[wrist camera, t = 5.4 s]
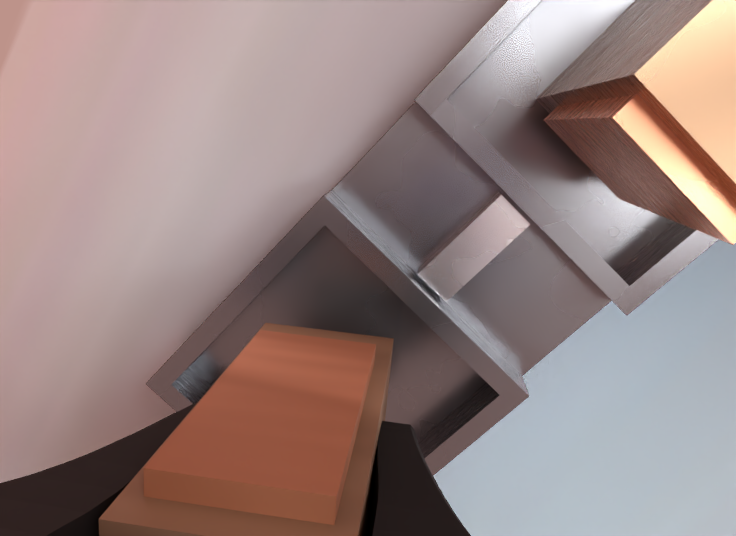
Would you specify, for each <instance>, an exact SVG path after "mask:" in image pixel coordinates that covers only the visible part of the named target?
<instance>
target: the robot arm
mask: <svg viewBox="0 0 736 536" xmlns="http://www.w3.org/2000/svg"><path fill="white" fill-rule="evenodd" d="M197 403H198V402H196V403H194V404H192V405H190V406H188V407H186V408H184V409H182V410H180V411H178V412H176V413H174V414H172V415H170V416H168V417H166V418H164V419H162V420H160V421H158V422H156V423H154V424H152V425H150V426H148V427H146V428H144V429H142V430H140V431H138V432H136V433H134V434H132V435H130V436H127V437H125V438H123V439H121V440H118V441H116V442H114V443H112V444H110V445H107V446H105V447H103V448H101V449H98V450H96V451H94V452H92V453H89V454H87V455H84V456H82V457H79V458H77V459H74V460H72V461H69V462H66V463H64V464H61V465H58V466H55V467H52V468H49V469H46V470H43V471H41V472H38V473H35V474H31V475H28V476H25V477H21V478H18V479H14V480H11V481H7V482H3V483H0V536H99V518H100V517H101V516H102V514H103V513H104V512H105V511H106V510H107V509H108V507H109V506H110V505H111V504H112V503H113V501H114V500H115V499H116V498H117V497H118V496H119V494H120V493H121V492H122V491H123V490H124V489H125V487H126V486H127V485H128V484H129V483H130V481H131V480H132V479H133V478H134V477H135V476H136V474H137V473H138V472H139V471H140V470H141V469H142V467H143V466H144V465H145V464H146V463H147V461H148V460H149V459H150V458H151V457H152V456H153V454H154V453H155V452H156V451H157V450H158V449H159V447H160V446H161V445H162V444H163V443H164V441H165V440H166V439H167V438H168V437H169V436H170V434H171V433H172V432H173V431H174V430H175V429H176V427H177V426H178V425H179V424H180V423H181V421H182V420H183V419H184V418H185V417H186V416H187V414H188V413H189V412H190V411H191V410H192V409H193V407H194V406H195V405H196V404H197ZM368 536H471V535H470V534H469V533H468V531H467V530H466V529H465V527H464V526H463V525H462V523H461V522H460V520H459V519H458V517H457V516H456V514H455V513H454V511H453V510H452V508H451V507H450V505H449V503H448V502H447V500H446V499H445V497H444V495H443V494H442V492H441V490H440V488H439V487H438V485H437V483H436V481H435V479H434V477H433V475H432V473H431V471H430V469H429V467H428V465H427V463H426V461H425V458H424V456H423V454H422V451H421V449H420V446H419V443H418V440H417V437H416V433H415V430H414V429H413V427H412V426H411V425H410V424H402V423H395V422H388V421H382V423H381V427H380V432H379V436H378V441H377V451H376V460H375V470H374V480H373V489H372V499H371V508H370V518H369V528H368Z"/></svg>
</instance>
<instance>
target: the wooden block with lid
mask: <svg viewBox="0 0 736 536" xmlns="http://www.w3.org/2000/svg"><path fill="white" fill-rule="evenodd" d="M393 341H394V338H386V337H378V336H370V335H362V334H353V333H345V332H337V331H329V330H321V329H313V328H305V327H297V326H289V325H280V324H272V323H265V324H264V325H263V326H262V327H261V329H260V330H259V331H258V332H257V333H256V334H255V336H254V337H253V338H252V339H251V340H250V341H249V343H248V344H247V345H246V346H245V347H244V349H243V350H242V351H241V352H240V353H239V354H238V356H237V357H236V358H235V359H234V360H233V361H232V363H231V364H230V365H229V366H228V367H227V369H226V370H225V371H224V372H223V373H222V374H221V376H220V377H219V378H218V379H217V380H216V381H215V383H214V384H213V385H212V386H211V387H210V389H209V390H208V391H207V392H206V393H205V394H204V396H203V397H202V398H201V399H200V400H199V401H198V403H197V404H196V405H195V406H194V407H193V409H192V410H191V411H190V412H189V413H188V414H187V416H186V417H185V418H184V419H183V420H182V421H181V423H180V424H179V425H178V426H177V427H176V429H175V430H174V431H173V432H172V433H171V434H170V436H169V437H168V438H167V439H166V440H165V441H164V443H163V444H162V445H161V446H160V447H159V449H158V450H157V451H156V452H155V453H154V454H153V456H152V457H151V458H150V459H149V460H148V461H147V463H146V464H145V465H144V466H143V467H142V469H141V470H140V471H139V472H138V473H137V474H136V476H135V477H134V478H133V479H132V480H131V481H130V483H129V484H128V485H127V486H126V487H125V489H124V490H123V491H122V492H121V493H120V494H119V496H118V497H117V498H116V499H115V500H114V501H113V503H112V504H111V505H110V506H109V507H108V509H107V510H106V511H105V512H104V513H103V514H102V516H101V517H100V518H99V536H368V528H369V518H370V508H371V499H372V489H373V480H374V470H375V460H376V451H377V441H378V436H379V432H380V427H381V423H382V421H385V416H386V406H387V397H388V388H389V378H390V369H391V360H392V350H393Z"/></svg>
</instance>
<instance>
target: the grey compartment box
mask: <svg viewBox="0 0 736 536" xmlns="http://www.w3.org/2000/svg"><path fill="white" fill-rule="evenodd" d="M414 100H415V101H416V102H415V103H414V104H413V105H412V106H411V107H410V108H409V109H408V110H407V111H406V113H405V114H404V115H403V116H402V117H401V118H400V119H399V120H398V121H397V122H396V123H395V124H394V125H393V126H392V127H391V128H390V129H389V130H388V132H387V133H386V134H385V135H384V136H383V137H382V138H381V139H380V140H379V141H378V142H377V143H376V144H375V145H374V146H373V147H372V148H371V149H370V151H369V152H368V153H367V154H366V155H365V156H364V157H363V158H362V159H361V160H360V161H359V162H358V163H357V164H356V165H355V166H354V167H353V169H352V170H351V171H350V172H349V173H348V174H347V175H346V176H345V177H344V178H343V179H342V180H341V181H340V182H339V183H338V184H337V185H336V186H335V188H334V189H333V190H331V191H330V192H328V193H327V194H325V195H324V196H323V197H322V198H321V199H320V200H319V201H318V202H317V203H316V204H315V205H314V206H313V207H312V208H311V209H310V210H309V212H308V213H307V214H306V215H305V216H304V217H303V218H302V219H301V220H300V221H299V222H298V223H297V224H296V225H295V226H294V227H293V228H292V230H291V231H290V232H289V233H288V234H287V235H286V236H285V237H284V238H283V239H282V240H281V241H280V242H279V243H278V244H277V245H276V246H275V247H274V249H273V250H272V251H271V252H270V253H269V254H268V255H267V256H266V257H265V258H264V259H263V260H262V261H261V262H260V263H259V264H258V265H257V267H256V268H255V269H254V270H253V271H252V272H251V273H250V274H249V275H248V276H247V277H246V278H245V279H244V280H243V281H242V282H241V283H240V285H239V286H238V287H237V288H236V289H235V290H234V291H233V292H232V293H231V294H230V295H229V296H228V297H227V298H226V299H225V300H224V301H223V303H222V304H221V305H220V306H219V307H218V308H217V309H216V310H215V311H214V312H213V313H212V314H211V315H210V316H209V317H208V318H207V319H206V321H205V322H204V323H203V324H202V325H201V326H200V327H199V328H198V329H197V330H196V331H195V332H194V333H193V334H192V335H191V336H190V337H189V338H188V340H187V341H186V342H185V343H184V344H183V345H182V346H181V347H180V348H179V349H178V350H177V351H176V352H175V353H174V354H173V355H172V356H171V358H170V359H169V360H168V361H167V362H166V363H165V364H164V365H163V366H162V367H161V368H160V369H159V370H158V371H157V372H156V373H155V374H154V376H153V377H152V378H151V379H150V380H149V381H148V382H147V383H146V385H148V386H149V387H150V388H151V389H152V390H153V391H154V392H155V393H156V394H158V395H159V396H160V397H161V398H162V399H163V400H164V401H165V402H166V403H168V404H169V405H170V406H171V407H172V408H173V409H174V410H175V411H176V412H178V411H180V410H182V409H184V408H186V407H188V406H190V405H192V404H194V403H196V402H198V401H199V400H200V399H201V398H202V397H203V396H204V394H205V393H206V392H207V391H208V390H209V389H210V387H211V386H212V385H213V384H214V383H215V381H216V380H217V379H218V378H219V377H220V376H221V374H222V373H223V372H224V371H225V370H226V369H227V367H228V366H229V365H230V364H231V363H232V361H233V360H234V359H235V358H236V357H237V356H238V354H239V353H240V352H241V351H242V350H243V349H244V347H245V346H246V345H247V344H248V343H249V341H250V340H251V339H252V338H253V337H254V336H255V334H256V333H257V332H258V331H259V330H260V329H261V327H262V326H263V325H264V324H265V323H272V324H280V325H289V326H297V327H305V328H313V329H321V330H329V331H337V332H345V333H353V334H362V335H370V336H378V337H386V338H394V341H393V350H392V360H391V369H390V378H389V388H388V397H387V406H386V416H385V421H388V422H395V423H402V424H410V425H411V426H412V427H413V429H414V430H415V433H416V437H417V440H418V443H419V446H420V449H421V451H422V454H423V456H424V458H425V461H426V463H427V465H428V467H429V469H430V471H431V473H432V475H434V474H436V473H437V472H438V471H439V470H440V469H442V468H443V467H444V466H445V465H447V464H448V463H449V462H450V461H451V460H453V459H454V458H455V457H456V456H457V455H459V454H460V453H461V452H462V451H463V450H465V449H466V448H467V447H468V446H470V445H471V444H472V443H473V442H474V441H476V440H477V439H478V438H479V437H480V436H482V435H483V434H484V433H485V432H486V431H488V430H489V429H490V428H491V427H493V426H494V425H495V424H496V423H497V422H499V421H500V420H501V419H502V418H503V417H505V416H506V415H507V414H508V413H509V412H511V411H512V410H513V409H514V408H516V407H517V406H518V405H519V404H520V403H522V402H523V401H524V400H525V399H526V398H528V397H529V394H528V391H527V388H526V386H525V383H524V380H523V377H522V375H524V374H525V373H526V372H527V371H528V370H530V369H531V368H532V367H533V366H534V365H535V364H537V363H538V362H539V361H540V360H541V359H543V358H544V357H545V356H546V355H547V354H549V353H550V352H551V351H552V350H553V349H555V348H556V347H557V346H558V345H559V344H560V343H562V342H563V341H564V340H565V339H566V338H568V337H569V336H570V335H571V334H572V333H574V332H575V331H576V330H577V329H578V328H580V327H581V326H582V325H583V324H584V323H585V322H587V321H588V320H589V319H590V318H591V317H593V316H594V315H595V314H596V313H597V312H599V311H600V310H601V309H602V308H603V307H604V306H606V305H607V304H608V303H609V302H610V301H613V302H614V303H615V304H616V305H617V306H618V307H619V308H620V309H621V310H622V311H623V312H624V313H625V314H626V315H628V314H629V313H631V312H632V311H633V310H634V309H635V308H637V307H638V306H639V305H640V304H641V303H643V302H644V301H645V300H646V299H647V298H649V297H650V296H651V295H652V294H654V293H655V292H656V291H657V290H658V289H660V288H661V287H662V286H663V285H664V284H666V283H667V282H668V281H669V280H670V279H672V278H673V277H674V276H675V275H677V274H678V273H679V272H680V271H681V270H683V269H684V268H685V267H686V266H687V265H689V264H690V263H691V262H692V261H693V260H695V259H696V258H697V257H698V256H700V255H701V254H702V253H703V252H704V251H706V250H707V249H708V248H709V247H710V246H712V245H713V244H714V243H715V242H716V241H718V240H719V239H720V240H722V241H725V242H727V243H729V244H732V245H733V244H734V243H736V0H508V1H507V2H506V3H505V4H504V5H503V6H502V7H501V8H500V9H499V10H498V12H497V13H496V14H495V15H494V16H493V17H492V18H491V19H490V20H489V21H488V22H487V23H486V24H485V25H484V26H483V27H482V28H481V30H480V31H479V32H478V33H477V34H476V35H475V36H474V37H473V38H472V39H471V40H470V41H469V42H468V43H467V44H466V45H465V46H464V48H463V49H462V50H461V51H460V52H459V53H458V54H457V55H456V56H455V57H454V58H453V59H452V60H451V61H450V62H449V63H448V64H447V65H446V67H445V68H444V69H443V70H442V71H441V72H440V73H439V74H438V75H437V76H436V77H435V78H434V79H433V80H432V81H431V82H430V83H429V85H428V86H427V87H426V88H425V89H424V90H423V91H422V92H421V93H420V94H419V95H418V96H417V97H416V98H415V99H414Z"/></svg>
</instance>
